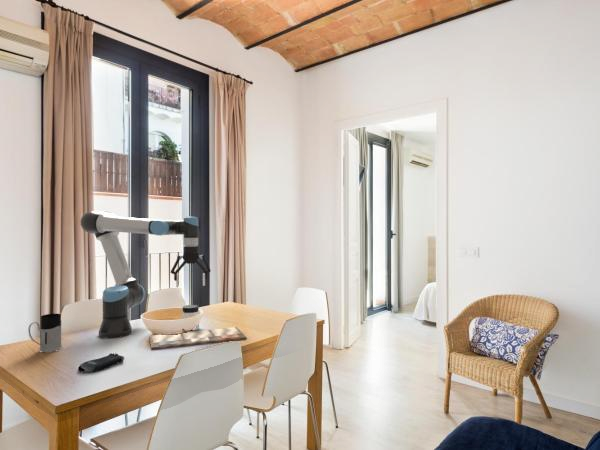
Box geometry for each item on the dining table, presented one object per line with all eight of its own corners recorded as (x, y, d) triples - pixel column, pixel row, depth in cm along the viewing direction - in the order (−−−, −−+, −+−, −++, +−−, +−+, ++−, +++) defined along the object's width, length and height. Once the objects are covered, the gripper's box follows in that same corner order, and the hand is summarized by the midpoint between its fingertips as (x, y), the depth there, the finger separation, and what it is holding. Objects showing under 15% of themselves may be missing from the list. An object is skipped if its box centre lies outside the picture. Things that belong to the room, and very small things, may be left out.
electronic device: (107, 363, 161) (72, 370, 148) (110, 349, 162) (75, 355, 149) (122, 370, 157) (87, 378, 144) (125, 356, 157) (91, 362, 144)
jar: (191, 332, 202) (191, 308, 202) (178, 330, 206) (178, 307, 206) (202, 327, 211) (202, 305, 211) (189, 326, 214) (189, 304, 214)
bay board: (151, 349, 173) (151, 346, 173) (149, 337, 192) (149, 335, 192) (246, 339, 190) (246, 336, 190) (236, 329, 209) (236, 326, 209)
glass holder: (67, 347, 176) (67, 314, 176) (36, 357, 163) (36, 321, 163) (52, 345, 179) (52, 312, 179) (21, 355, 166) (21, 319, 166)
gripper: (166, 246, 200) (166, 288, 200) (216, 245, 209) (215, 285, 209) (165, 245, 207) (165, 286, 207) (213, 245, 216) (213, 284, 216)
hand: (190, 286), depth 208 cm, fingers open, 13 cm apart
